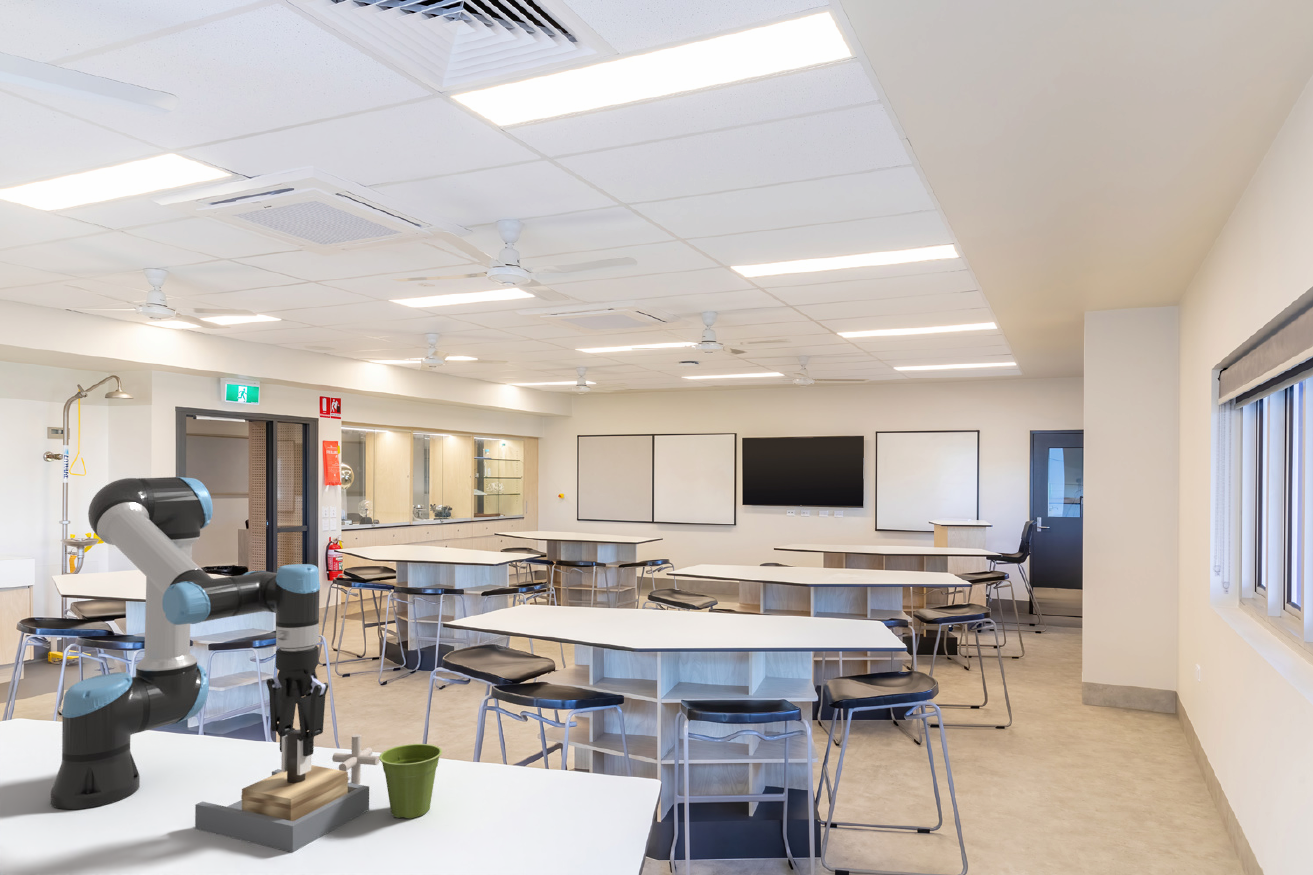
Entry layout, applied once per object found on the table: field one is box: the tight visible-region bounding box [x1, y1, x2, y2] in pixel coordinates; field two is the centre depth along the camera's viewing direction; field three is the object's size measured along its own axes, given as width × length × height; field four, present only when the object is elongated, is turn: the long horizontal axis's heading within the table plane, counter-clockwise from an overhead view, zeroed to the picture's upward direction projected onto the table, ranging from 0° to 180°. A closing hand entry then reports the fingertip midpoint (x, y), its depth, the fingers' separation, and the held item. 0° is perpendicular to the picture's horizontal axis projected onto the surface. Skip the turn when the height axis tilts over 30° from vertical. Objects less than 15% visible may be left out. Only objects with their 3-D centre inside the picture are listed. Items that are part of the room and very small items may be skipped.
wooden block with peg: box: [240, 729, 349, 821], centre depth 157 cm, size 12×14×15 cm
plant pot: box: [378, 743, 443, 819], centre depth 161 cm, size 12×12×11 cm
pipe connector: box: [331, 733, 380, 785], centre depth 175 cm, size 10×10×10 cm
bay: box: [194, 768, 370, 853], centre depth 158 cm, size 24×19×4 cm
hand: (296, 770), depth 157 cm, fingers closed on wooden block with peg, 3 cm apart
